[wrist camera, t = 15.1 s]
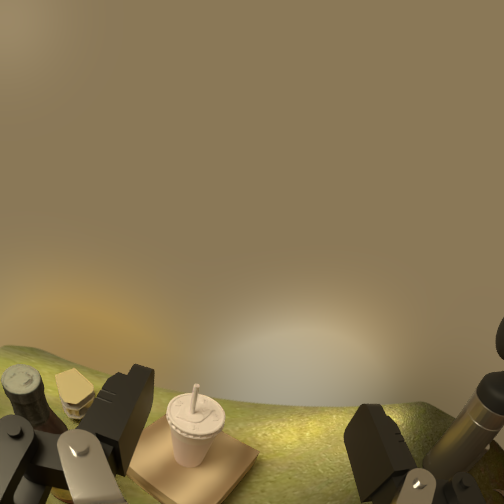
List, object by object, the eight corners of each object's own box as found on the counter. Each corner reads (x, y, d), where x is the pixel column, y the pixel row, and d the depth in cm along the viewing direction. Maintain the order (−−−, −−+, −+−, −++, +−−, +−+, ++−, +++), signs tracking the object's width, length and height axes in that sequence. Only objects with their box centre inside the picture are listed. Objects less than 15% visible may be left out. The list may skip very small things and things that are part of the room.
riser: (252, 465, 34) (259, 451, 33) (198, 527, 22) (201, 518, 21) (177, 419, 40) (179, 404, 39) (114, 464, 27) (111, 450, 26)
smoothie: (155, 443, 30) (159, 368, 26) (198, 434, 34) (214, 360, 30) (176, 481, 25) (186, 414, 22) (222, 467, 29) (246, 398, 26)
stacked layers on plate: (42, 397, 33) (36, 373, 32) (84, 382, 41) (81, 358, 39) (72, 440, 28) (64, 418, 27) (116, 418, 36) (114, 396, 35)
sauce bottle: (100, 494, 22) (68, 396, 17) (63, 512, 17) (3, 418, 12) (73, 459, 25) (40, 350, 20) (38, 473, 20) (-15, 364, 15)
